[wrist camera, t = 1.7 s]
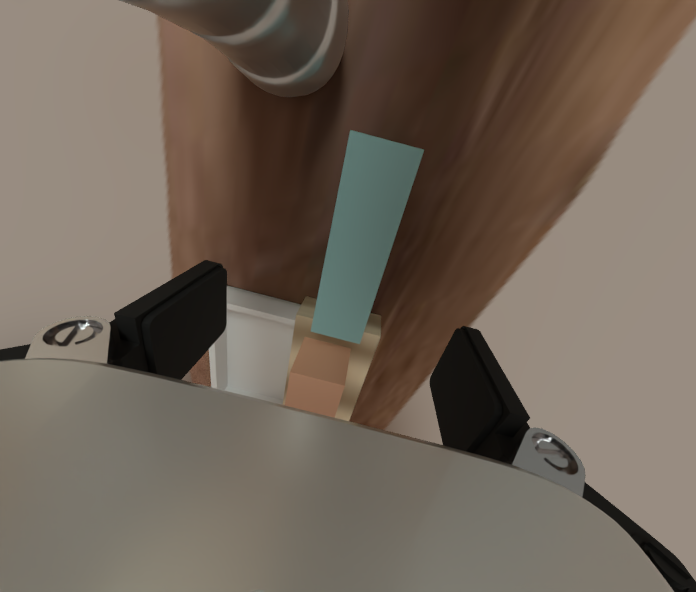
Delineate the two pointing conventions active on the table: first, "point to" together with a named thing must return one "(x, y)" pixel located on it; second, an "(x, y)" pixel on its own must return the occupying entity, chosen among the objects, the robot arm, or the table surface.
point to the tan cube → (318, 377)
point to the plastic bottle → (267, 37)
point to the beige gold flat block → (359, 352)
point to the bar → (362, 232)
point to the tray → (254, 346)
